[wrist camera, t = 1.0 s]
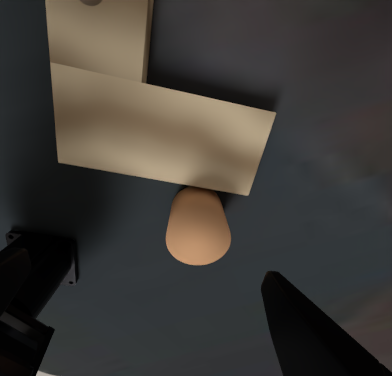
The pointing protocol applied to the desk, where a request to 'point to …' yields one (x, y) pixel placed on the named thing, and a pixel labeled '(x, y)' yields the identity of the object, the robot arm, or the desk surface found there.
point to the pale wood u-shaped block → (141, 105)
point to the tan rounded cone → (197, 227)
